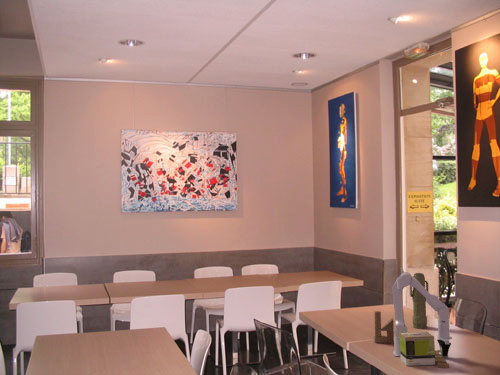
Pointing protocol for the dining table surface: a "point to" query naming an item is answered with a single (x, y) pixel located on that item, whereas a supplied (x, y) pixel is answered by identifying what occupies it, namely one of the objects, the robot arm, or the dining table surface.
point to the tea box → (417, 348)
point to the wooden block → (387, 327)
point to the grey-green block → (441, 353)
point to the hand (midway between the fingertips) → (444, 354)
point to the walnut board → (440, 361)
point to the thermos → (419, 304)
